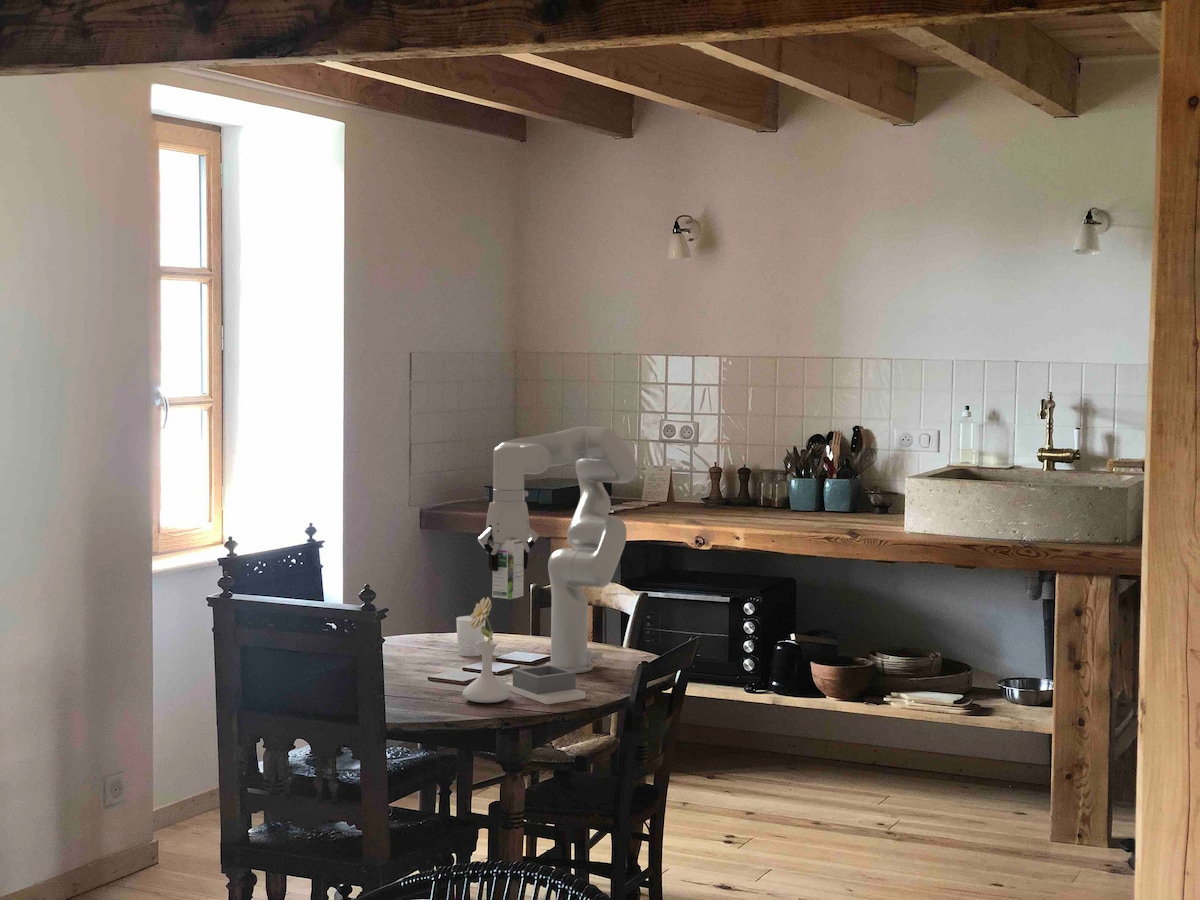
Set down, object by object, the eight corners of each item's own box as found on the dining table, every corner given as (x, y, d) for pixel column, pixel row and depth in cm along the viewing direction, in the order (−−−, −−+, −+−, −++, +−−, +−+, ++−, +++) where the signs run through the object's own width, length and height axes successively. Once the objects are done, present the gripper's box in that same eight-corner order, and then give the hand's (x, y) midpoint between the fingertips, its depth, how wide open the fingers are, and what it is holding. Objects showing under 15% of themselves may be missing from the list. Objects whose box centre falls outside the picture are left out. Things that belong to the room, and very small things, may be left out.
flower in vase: (462, 695, 327) (464, 591, 325) (510, 695, 327) (512, 591, 326) (461, 708, 314) (462, 600, 312) (511, 708, 314) (512, 600, 313)
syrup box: (491, 597, 331) (491, 538, 330) (505, 594, 336) (505, 535, 335) (511, 599, 328) (511, 539, 327) (524, 596, 333) (524, 537, 333)
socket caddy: (541, 683, 341) (541, 661, 340) (585, 698, 325) (585, 675, 325) (503, 688, 334) (503, 666, 334) (546, 704, 319) (546, 681, 319)
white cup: (458, 657, 371) (459, 621, 370) (453, 652, 378) (454, 616, 378) (487, 656, 373) (487, 620, 372) (482, 651, 380) (482, 615, 380)
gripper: (531, 493, 339) (531, 564, 340) (469, 496, 329) (469, 570, 330) (547, 496, 333) (547, 568, 334) (484, 499, 323) (483, 574, 324)
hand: (508, 568), depth 332 cm, fingers closed on syrup box, 7 cm apart
